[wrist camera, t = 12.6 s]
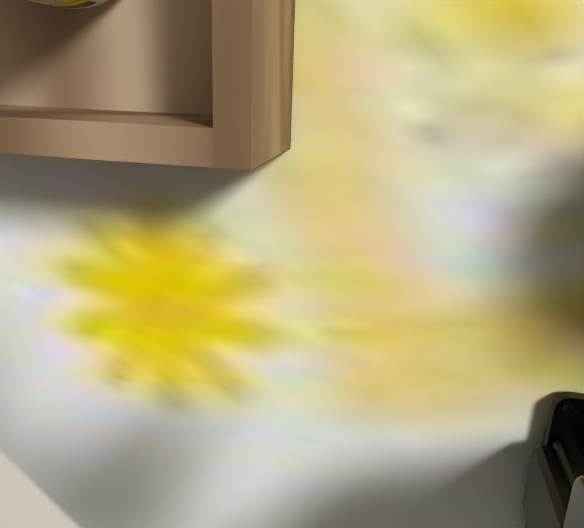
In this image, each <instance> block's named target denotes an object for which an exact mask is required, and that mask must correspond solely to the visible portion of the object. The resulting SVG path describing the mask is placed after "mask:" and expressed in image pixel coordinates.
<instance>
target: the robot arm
mask: <svg viewBox="0 0 584 528" xmlns="http://www.w3.org/2000/svg"><path fill="white" fill-rule="evenodd" d="M567 404H573V405H575V406H574V408H573V409H571V410H567V411H565V410H562V409H563V407H564V406H565V405H567ZM522 503H523V508H524V511H525V515H526V519H527V521H526V526H525V528H584V394H583V393H575V392H562V393H560V394H558V395H557V396H555V397H554V399H553V401H552V404H551V409H550V413H549V418H548V423H547V427H546V432H545V437H544V441H543V444H539V445H538V446H536V447H535V448H534V449H533V453H532V458H531V462H530V467H529V472H528V477H527V482H526V487H525V491H524V496H523V502H522Z"/></svg>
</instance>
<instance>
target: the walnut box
mask: <svg viewBox="0 0 584 528" xmlns="http://www.w3.org/2000/svg"><path fill="white" fill-rule="evenodd" d="M294 20H295V0H108V1H106V2H104V3H102V4H99V5H96V6H93V7H89V8H80V9H68V8H60V7H55V6H50V5H45V4H41V3H36V2H32V1H28V0H0V153H3V154H18V155H33V156H47V157H62V158H77V159H91V160H106V161H121V162H136V163H150V164H165V165H180V166H194V167H209V168H224V169H239V170H252V169H254V168H256V167H258V166H259V165H261V164H263V163H265V162H267V161H268V160H270V159H272V158H274V157H276V156H277V155H279V154H281V153H283V152H285V151H286V150H288V149H290V141H291V111H292V81H293V50H294Z"/></svg>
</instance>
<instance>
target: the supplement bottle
mask: <svg viewBox="0 0 584 528" xmlns="http://www.w3.org/2000/svg"><path fill="white" fill-rule="evenodd" d="M28 1H32V2H36V3H41V4H45V5H50V6H55V7H60V8H68V9H80V8H89V7H93V6H96V5H99V4H102V3H104V2H106V1H108V0H28Z"/></svg>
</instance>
